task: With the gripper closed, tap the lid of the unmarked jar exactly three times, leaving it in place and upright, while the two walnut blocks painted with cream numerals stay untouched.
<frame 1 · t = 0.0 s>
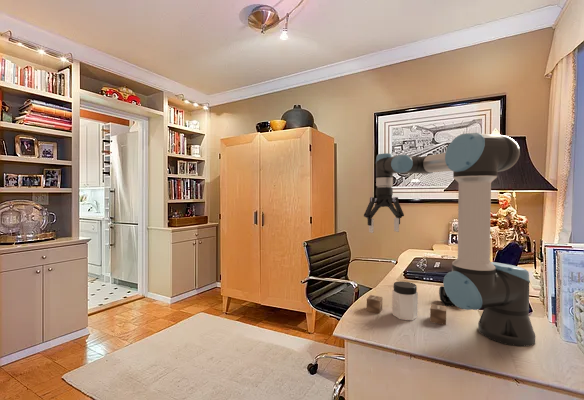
hand: (383, 232, 140), 28 cm above the table, fingers open, 13 cm apart
walnut block 7: (374, 310, 117), on the table
walnut block 1: (438, 321, 108), on the table
jar: (404, 316, 112), on the table
end cap: (454, 304, 124), on the table
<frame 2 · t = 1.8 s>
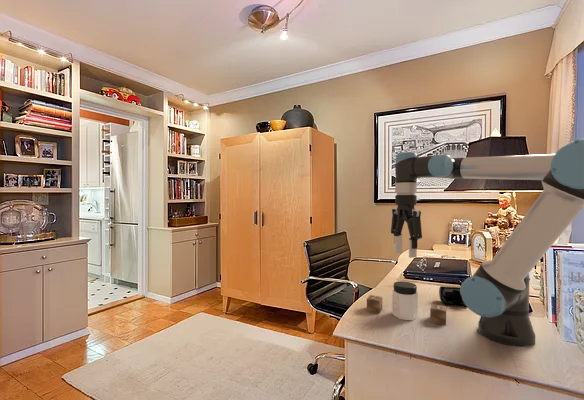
hand: (405, 254, 111), 23 cm above the table, fingers open, 8 cm apart
nothing on the table moved.
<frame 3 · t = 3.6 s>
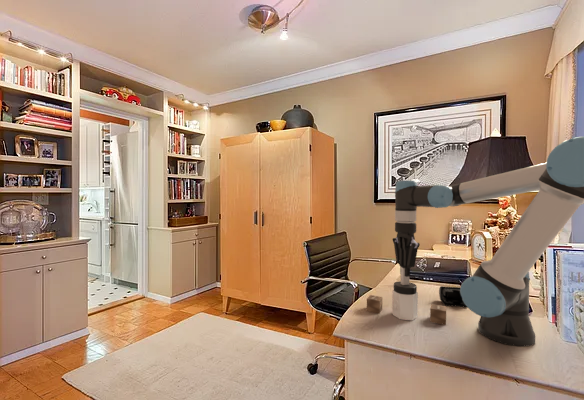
hand: (405, 284, 111), 12 cm above the table, fingers closed
jar: (404, 316, 112), on the table, touching gripper
everything else where it was.
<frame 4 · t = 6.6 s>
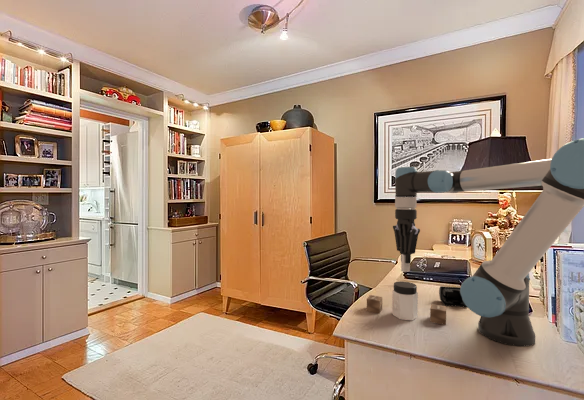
hand: (405, 271, 111), 17 cm above the table, fingers closed
jar: (404, 316, 112), on the table
everything else where it was.
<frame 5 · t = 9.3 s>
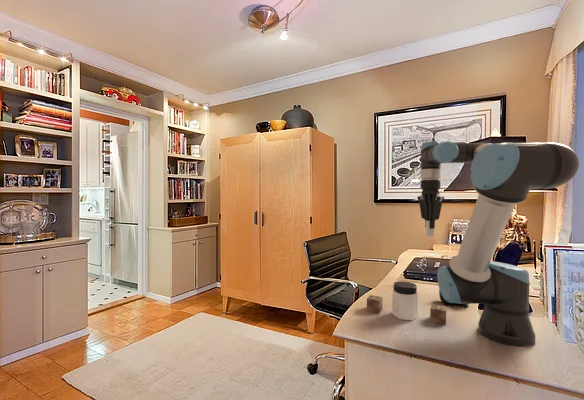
hand: (429, 236, 124), 28 cm above the table, fingers closed
nothing on the table moved.
at the end: jar moved 0.2 cm from its start; jar tilted 0°; jar touching table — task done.
